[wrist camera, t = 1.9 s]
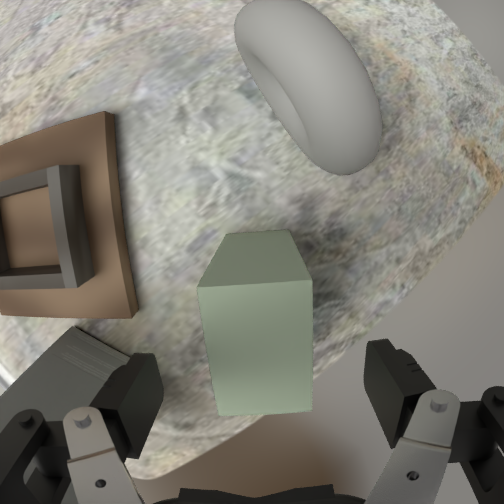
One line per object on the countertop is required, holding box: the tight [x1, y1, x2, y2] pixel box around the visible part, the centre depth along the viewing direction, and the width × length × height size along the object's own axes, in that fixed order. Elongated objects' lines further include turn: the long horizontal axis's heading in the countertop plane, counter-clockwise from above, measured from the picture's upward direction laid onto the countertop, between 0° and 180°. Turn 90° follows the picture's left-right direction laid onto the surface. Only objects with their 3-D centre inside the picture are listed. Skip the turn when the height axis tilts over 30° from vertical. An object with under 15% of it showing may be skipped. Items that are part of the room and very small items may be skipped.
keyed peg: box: [197, 230, 313, 416], centre depth 17 cm, size 6×4×10 cm, turn 5°
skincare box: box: [0, 326, 130, 504], centre depth 16 cm, size 8×7×16 cm
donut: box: [234, 0, 383, 175], centre depth 14 cm, size 10×3×10 cm, turn 32°
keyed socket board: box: [0, 111, 139, 319], centre depth 19 cm, size 14×14×4 cm
